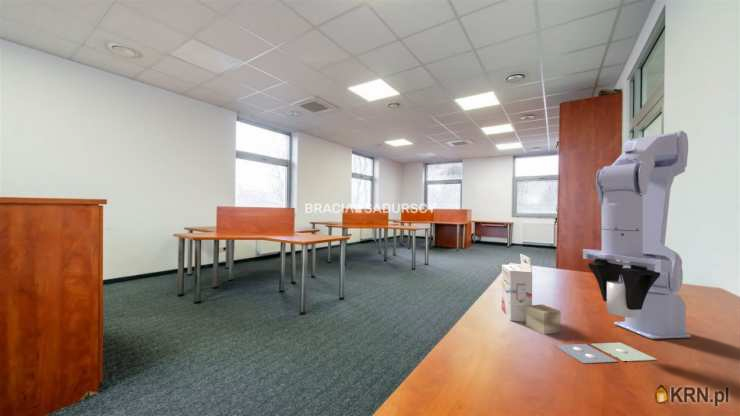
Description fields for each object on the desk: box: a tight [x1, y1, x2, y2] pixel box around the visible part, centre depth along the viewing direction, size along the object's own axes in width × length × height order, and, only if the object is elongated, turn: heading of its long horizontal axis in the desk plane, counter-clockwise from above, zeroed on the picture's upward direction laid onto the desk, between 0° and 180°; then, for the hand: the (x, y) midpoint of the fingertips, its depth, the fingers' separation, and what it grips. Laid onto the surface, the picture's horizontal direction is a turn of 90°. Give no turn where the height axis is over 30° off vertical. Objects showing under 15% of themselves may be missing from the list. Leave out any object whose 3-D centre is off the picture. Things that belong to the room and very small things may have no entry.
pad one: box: [590, 342, 658, 362], centre depth 52 cm, size 6×6×1 cm
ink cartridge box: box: [501, 253, 533, 323], centre depth 70 cm, size 9×5×15 cm, turn 168°
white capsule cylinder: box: [606, 281, 636, 318], centre depth 52 cm, size 4×4×6 cm
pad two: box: [553, 343, 618, 364], centre depth 51 cm, size 6×6×1 cm
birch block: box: [525, 304, 562, 335], centre depth 62 cm, size 4×4×4 cm
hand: (621, 304), depth 52 cm, fingers closed on white capsule cylinder, 4 cm apart
